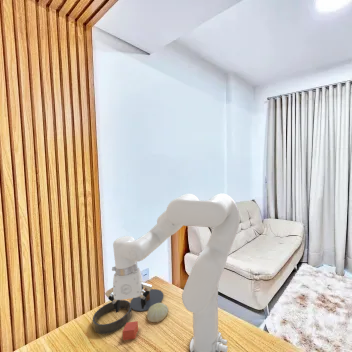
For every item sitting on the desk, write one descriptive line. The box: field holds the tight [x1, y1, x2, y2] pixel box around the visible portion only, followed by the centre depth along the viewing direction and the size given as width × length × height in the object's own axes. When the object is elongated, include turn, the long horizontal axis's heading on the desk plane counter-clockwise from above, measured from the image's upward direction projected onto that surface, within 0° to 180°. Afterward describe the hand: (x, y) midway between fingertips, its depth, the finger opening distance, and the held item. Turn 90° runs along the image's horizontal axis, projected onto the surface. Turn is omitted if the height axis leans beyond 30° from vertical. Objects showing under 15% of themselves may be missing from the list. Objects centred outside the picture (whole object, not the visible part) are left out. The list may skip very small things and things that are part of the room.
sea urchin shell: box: [146, 302, 169, 323], centre depth 94 cm, size 9×8×8 cm
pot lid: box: [130, 288, 164, 313], centre depth 104 cm, size 15×15×7 cm
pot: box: [92, 299, 133, 335], centre depth 92 cm, size 15×15×4 cm
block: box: [122, 320, 139, 341], centre depth 84 cm, size 4×4×4 cm
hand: (131, 308), depth 83 cm, fingers open, 9 cm apart
